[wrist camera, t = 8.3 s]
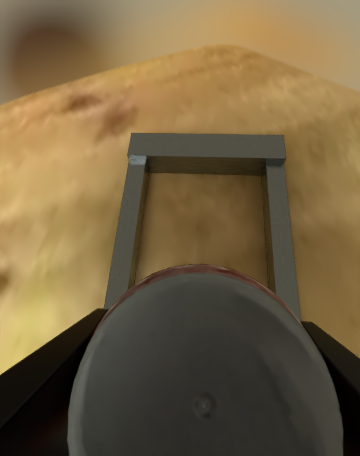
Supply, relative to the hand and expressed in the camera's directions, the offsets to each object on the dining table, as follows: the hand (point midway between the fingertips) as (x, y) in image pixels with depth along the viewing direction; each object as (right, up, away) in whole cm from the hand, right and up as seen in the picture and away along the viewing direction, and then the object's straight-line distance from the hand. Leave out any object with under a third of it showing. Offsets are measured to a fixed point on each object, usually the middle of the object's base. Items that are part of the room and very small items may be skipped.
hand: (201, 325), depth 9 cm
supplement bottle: (0, -4, +6) cm, 7 cm away
